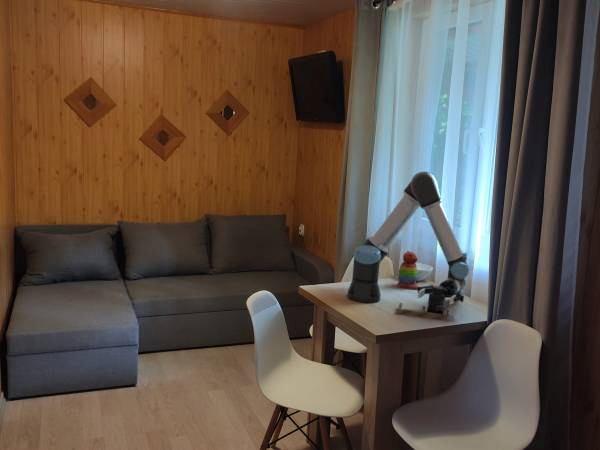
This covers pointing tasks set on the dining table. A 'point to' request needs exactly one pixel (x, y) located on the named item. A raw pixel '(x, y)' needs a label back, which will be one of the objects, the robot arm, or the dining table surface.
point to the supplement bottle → (436, 300)
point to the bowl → (423, 271)
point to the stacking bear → (408, 271)
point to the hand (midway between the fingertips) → (434, 298)
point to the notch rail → (422, 313)
